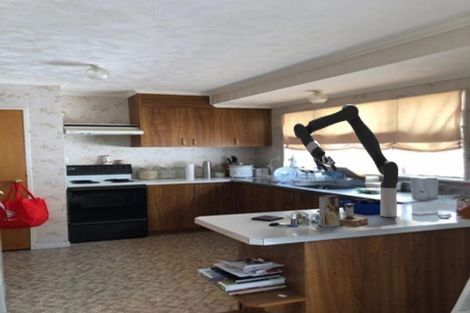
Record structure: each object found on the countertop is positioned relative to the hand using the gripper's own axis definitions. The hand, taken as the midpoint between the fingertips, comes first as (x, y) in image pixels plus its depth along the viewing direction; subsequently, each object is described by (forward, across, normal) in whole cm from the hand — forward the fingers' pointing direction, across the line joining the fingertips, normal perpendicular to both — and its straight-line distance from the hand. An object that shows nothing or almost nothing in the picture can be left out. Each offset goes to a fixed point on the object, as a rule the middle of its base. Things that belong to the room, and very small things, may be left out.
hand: (331, 170), depth 259 cm
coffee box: (+26, -13, +15) cm, 33 cm away
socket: (+28, 0, +12) cm, 31 cm away
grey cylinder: (+28, 0, +12) cm, 31 cm away
